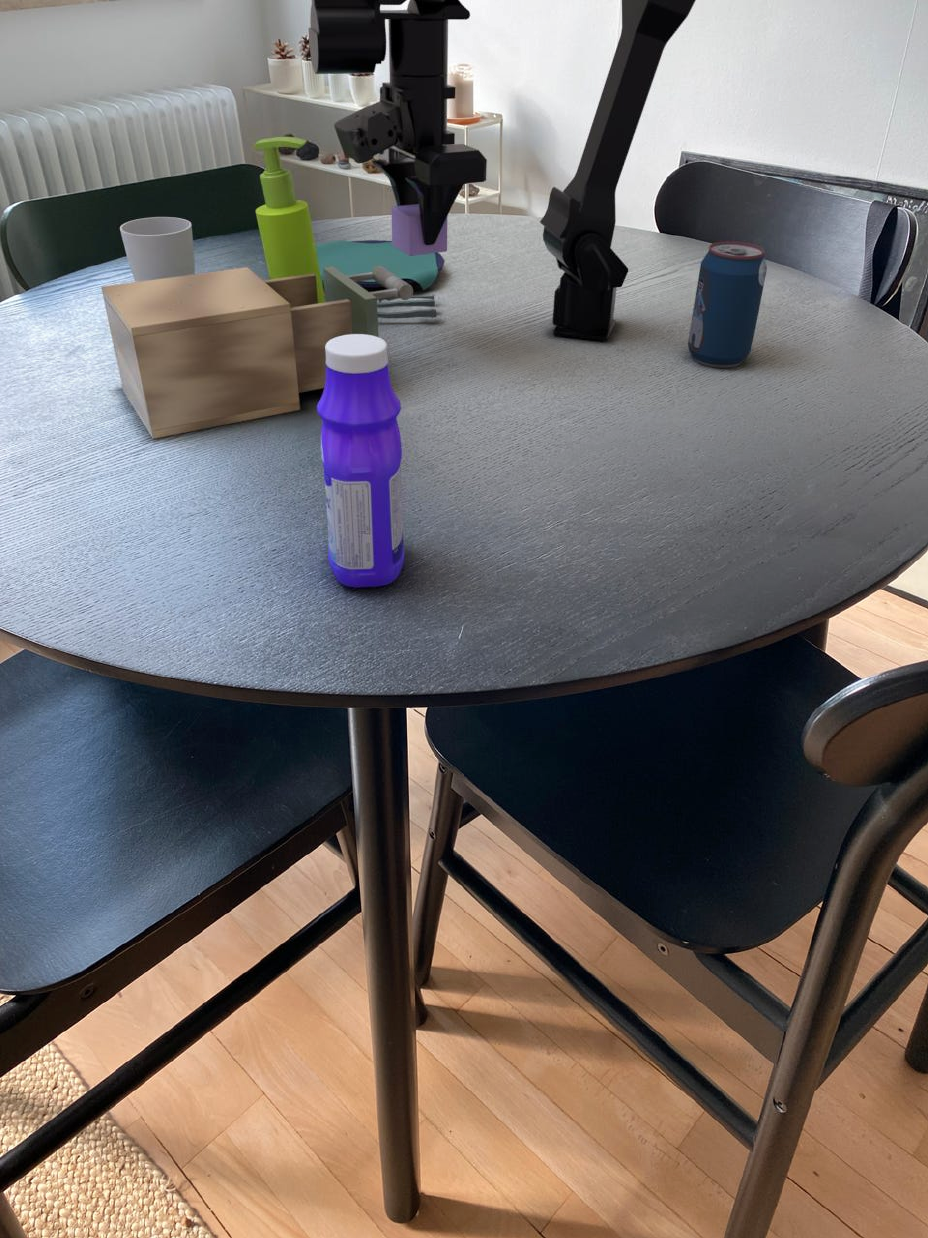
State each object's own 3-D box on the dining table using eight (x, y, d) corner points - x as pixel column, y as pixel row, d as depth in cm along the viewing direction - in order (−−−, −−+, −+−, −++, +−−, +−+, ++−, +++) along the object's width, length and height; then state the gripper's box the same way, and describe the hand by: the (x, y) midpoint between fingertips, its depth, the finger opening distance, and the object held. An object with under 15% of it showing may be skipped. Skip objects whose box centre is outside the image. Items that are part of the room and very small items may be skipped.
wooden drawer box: (259, 366, 103) (247, 266, 97) (300, 409, 95) (290, 303, 88) (122, 390, 98) (100, 286, 91) (152, 439, 89) (130, 327, 83)
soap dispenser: (327, 330, 111) (294, 143, 99) (272, 331, 112) (232, 147, 100) (342, 311, 115) (312, 130, 103) (289, 312, 117) (253, 134, 104)
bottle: (331, 543, 75) (313, 324, 64) (403, 540, 75) (397, 323, 65) (328, 596, 69) (308, 365, 58) (406, 593, 69) (400, 364, 59)
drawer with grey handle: (379, 339, 108) (376, 258, 103) (423, 374, 100) (422, 289, 95) (219, 367, 101) (207, 282, 95) (254, 407, 93) (242, 317, 87)
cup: (216, 304, 119) (204, 220, 113) (180, 325, 113) (166, 238, 107) (160, 296, 121) (146, 214, 115) (122, 316, 115) (105, 230, 109)
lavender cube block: (428, 240, 105) (428, 202, 103) (447, 251, 102) (447, 212, 100) (391, 245, 104) (391, 206, 101) (409, 256, 100) (409, 216, 98)
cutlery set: (441, 253, 138) (441, 236, 137) (453, 325, 115) (453, 306, 113) (304, 253, 137) (302, 237, 136) (286, 326, 113) (285, 307, 112)
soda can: (759, 358, 107) (782, 248, 100) (728, 375, 103) (749, 261, 96) (706, 342, 111) (725, 235, 104) (674, 358, 107) (690, 247, 100)
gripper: (307, 63, 96) (317, 225, 106) (381, 90, 83) (386, 271, 93) (406, 60, 101) (408, 215, 110) (492, 84, 88) (486, 258, 97)
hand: (419, 238), depth 102 cm, fingers closed on lavender cube block, 4 cm apart
